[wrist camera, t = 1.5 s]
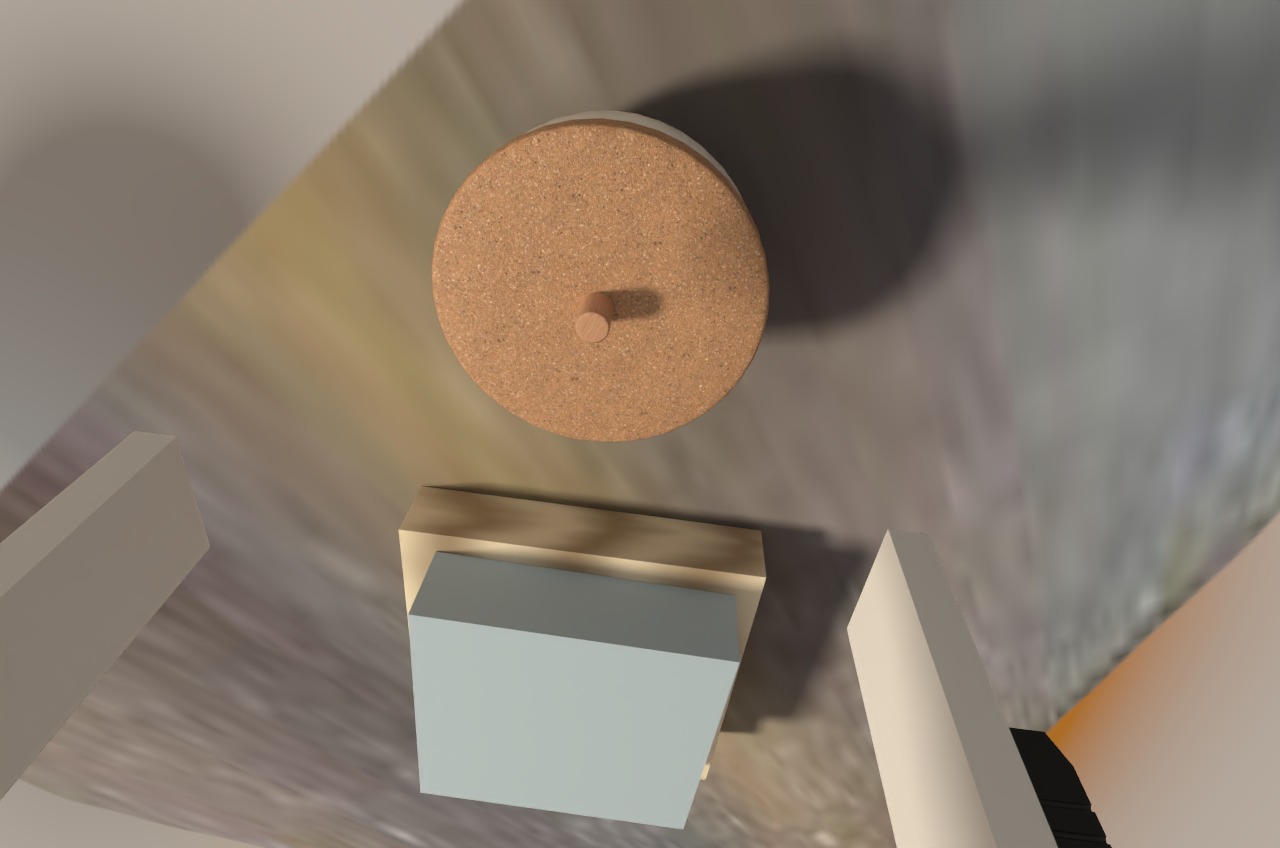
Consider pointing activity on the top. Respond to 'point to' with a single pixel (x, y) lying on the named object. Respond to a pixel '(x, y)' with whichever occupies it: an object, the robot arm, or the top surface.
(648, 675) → the tower top
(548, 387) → the lidded jar
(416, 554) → the tower base
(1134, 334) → the top surface
